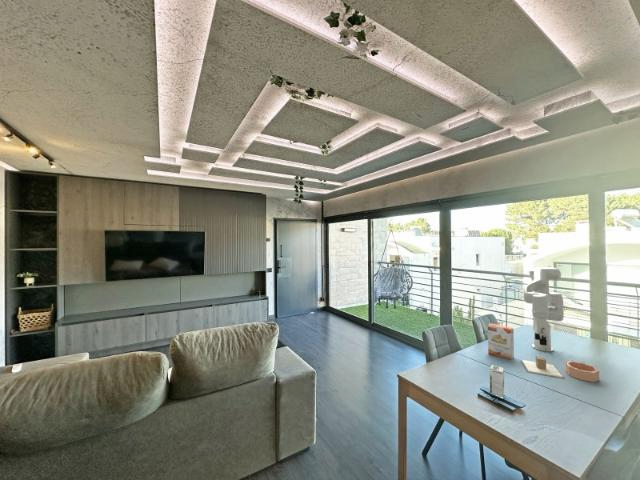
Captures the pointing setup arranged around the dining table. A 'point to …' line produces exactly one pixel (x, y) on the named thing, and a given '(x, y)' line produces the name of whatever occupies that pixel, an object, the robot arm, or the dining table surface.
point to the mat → (540, 374)
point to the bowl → (582, 371)
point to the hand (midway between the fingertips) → (540, 342)
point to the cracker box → (501, 341)
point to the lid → (541, 367)
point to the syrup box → (497, 380)
